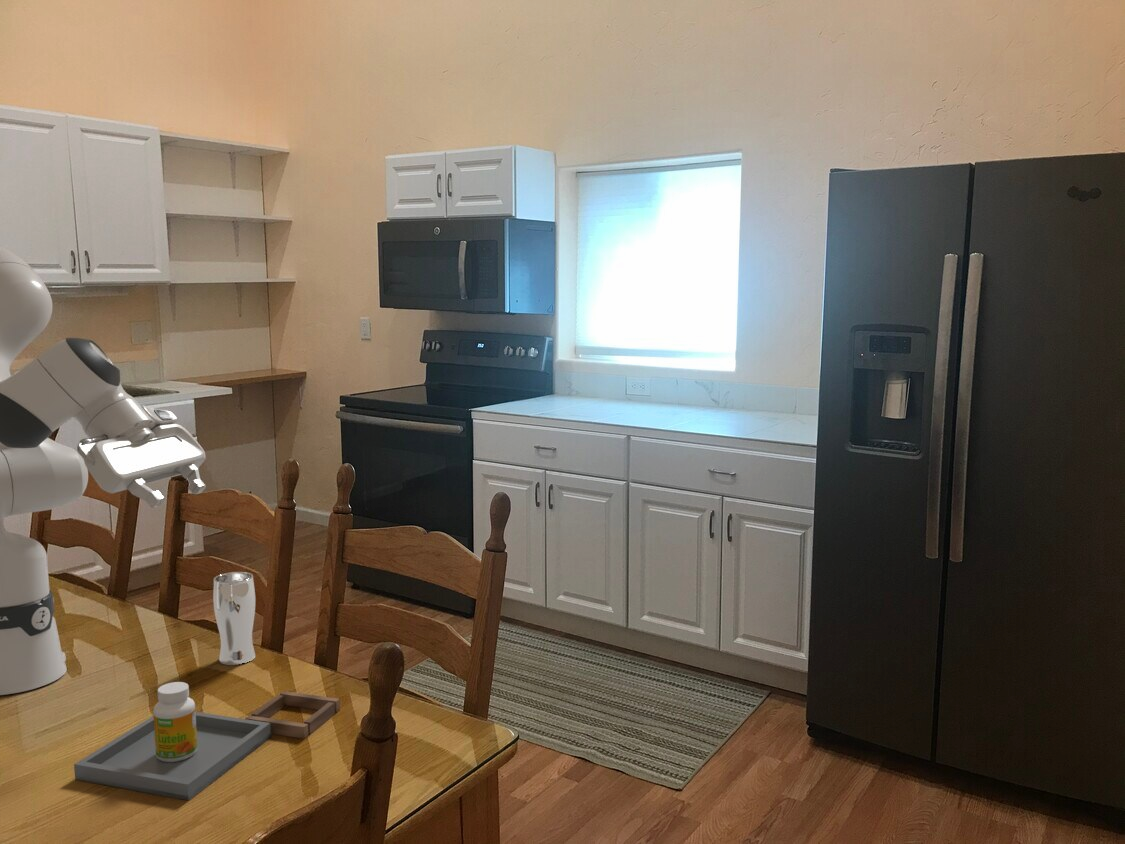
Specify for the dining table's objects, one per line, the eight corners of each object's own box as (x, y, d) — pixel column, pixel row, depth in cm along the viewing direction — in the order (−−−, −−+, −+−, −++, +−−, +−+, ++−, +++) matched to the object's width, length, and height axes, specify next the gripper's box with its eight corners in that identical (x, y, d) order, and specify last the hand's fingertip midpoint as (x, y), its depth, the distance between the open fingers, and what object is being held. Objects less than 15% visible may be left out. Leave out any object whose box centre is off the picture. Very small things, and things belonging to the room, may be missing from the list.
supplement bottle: (153, 765, 128) (148, 697, 126) (159, 747, 133) (155, 681, 131) (195, 760, 129) (191, 693, 128) (199, 742, 134) (196, 677, 133)
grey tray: (75, 779, 125) (74, 764, 125) (167, 721, 142) (167, 707, 142) (188, 800, 120) (187, 784, 120) (270, 737, 137) (270, 723, 137)
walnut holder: (245, 729, 139) (245, 718, 139) (284, 701, 149) (283, 691, 149) (304, 738, 136) (304, 727, 136) (339, 709, 146) (339, 698, 146)
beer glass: (244, 648, 171) (240, 569, 169) (265, 657, 167) (262, 576, 165) (208, 659, 166) (204, 577, 164) (230, 669, 161) (226, 585, 159)
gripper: (82, 427, 134) (143, 498, 133) (179, 410, 153) (233, 472, 152) (59, 456, 136) (119, 526, 134) (158, 435, 155) (211, 497, 154)
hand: (180, 497), depth 143 cm, fingers open, 8 cm apart
